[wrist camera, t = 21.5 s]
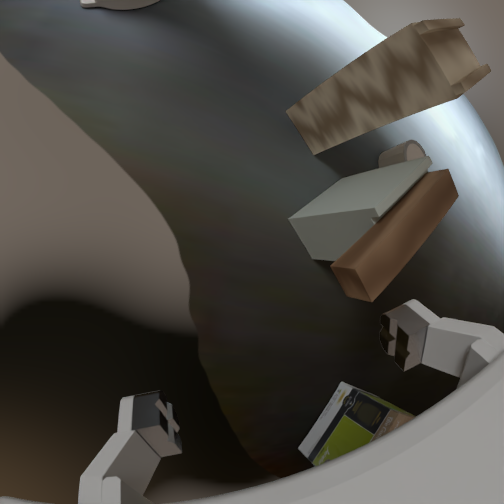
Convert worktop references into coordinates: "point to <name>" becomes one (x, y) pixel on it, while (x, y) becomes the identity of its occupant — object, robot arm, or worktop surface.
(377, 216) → the block
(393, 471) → the robot arm
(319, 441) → the tea box
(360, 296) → the walnut bar
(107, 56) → the worktop surface
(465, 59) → the shelf block
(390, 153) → the grey brown short cylinder
